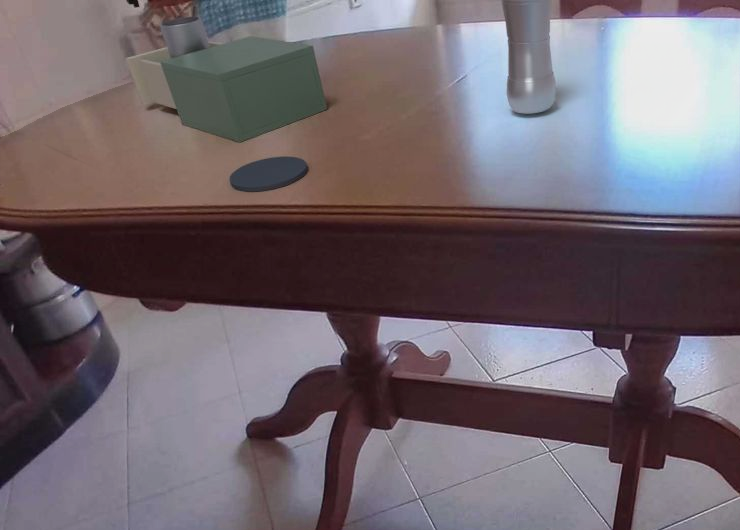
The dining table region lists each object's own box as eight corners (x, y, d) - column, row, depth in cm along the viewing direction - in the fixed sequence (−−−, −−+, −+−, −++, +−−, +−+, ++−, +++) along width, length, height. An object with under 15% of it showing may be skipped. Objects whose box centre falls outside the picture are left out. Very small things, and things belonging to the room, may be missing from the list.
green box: (181, 124, 103) (159, 61, 97) (267, 95, 111) (250, 36, 106) (239, 142, 93) (218, 74, 88) (327, 109, 102) (312, 45, 96)
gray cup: (195, 98, 105) (171, 27, 99) (176, 93, 109) (151, 24, 103) (230, 87, 109) (208, 17, 103) (210, 82, 112) (188, 14, 106)
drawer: (130, 100, 112) (113, 55, 108) (206, 77, 120) (192, 34, 116) (188, 118, 101) (170, 68, 97) (267, 91, 109) (254, 44, 105)
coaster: (258, 198, 77) (256, 193, 77) (216, 181, 83) (214, 176, 82) (323, 169, 83) (321, 164, 82) (279, 156, 88) (278, 151, 87)
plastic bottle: (499, 118, 91) (485, -58, 79) (520, 101, 96) (509, -67, 84) (545, 121, 89) (537, -60, 77) (564, 103, 94) (559, -69, 82)
